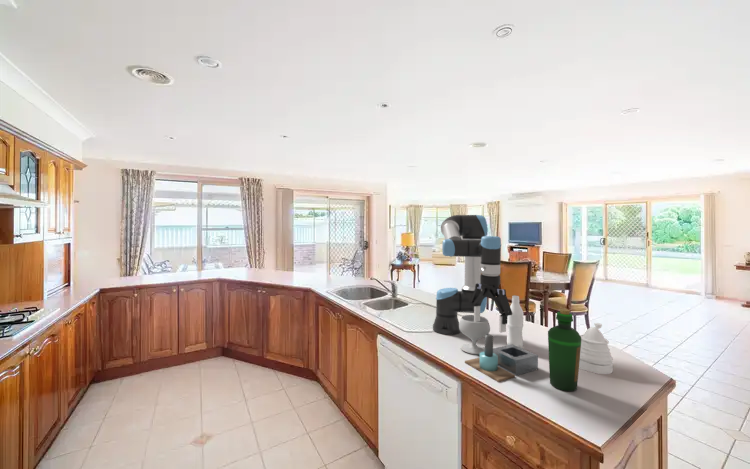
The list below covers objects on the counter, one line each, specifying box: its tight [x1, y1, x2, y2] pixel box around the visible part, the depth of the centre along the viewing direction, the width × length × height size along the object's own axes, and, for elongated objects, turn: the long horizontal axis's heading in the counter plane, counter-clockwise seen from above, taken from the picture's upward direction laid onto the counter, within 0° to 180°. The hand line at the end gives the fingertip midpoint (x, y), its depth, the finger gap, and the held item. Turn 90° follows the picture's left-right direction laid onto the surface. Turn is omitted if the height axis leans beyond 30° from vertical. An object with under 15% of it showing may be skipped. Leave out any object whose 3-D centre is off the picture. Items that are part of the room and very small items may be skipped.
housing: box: [493, 344, 539, 377], centre depth 128 cm, size 13×13×6 cm
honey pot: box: [579, 322, 614, 375], centre depth 128 cm, size 13×13×18 cm
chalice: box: [459, 314, 491, 355], centre depth 145 cm, size 14×14×15 cm
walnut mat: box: [464, 357, 516, 383], centre depth 125 cm, size 18×9×1 cm, turn 25°
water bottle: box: [506, 295, 524, 349], centre depth 148 cm, size 7×7×25 cm
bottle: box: [547, 308, 581, 392], centre depth 112 cm, size 11×11×28 cm
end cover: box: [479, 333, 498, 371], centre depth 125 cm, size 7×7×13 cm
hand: (489, 326), depth 125 cm, fingers open, 13 cm apart
